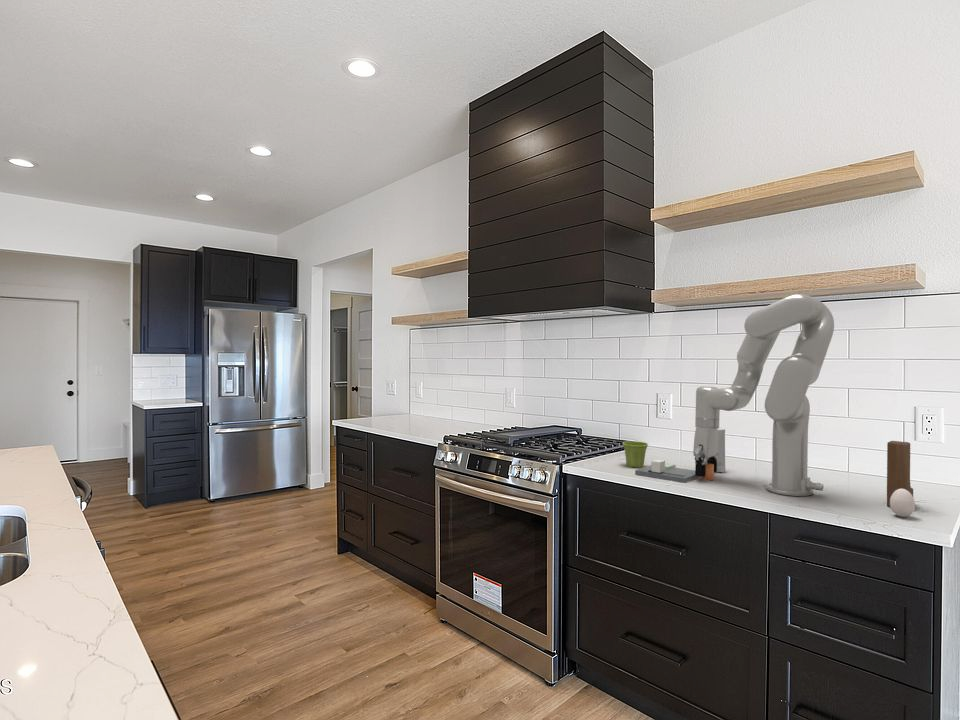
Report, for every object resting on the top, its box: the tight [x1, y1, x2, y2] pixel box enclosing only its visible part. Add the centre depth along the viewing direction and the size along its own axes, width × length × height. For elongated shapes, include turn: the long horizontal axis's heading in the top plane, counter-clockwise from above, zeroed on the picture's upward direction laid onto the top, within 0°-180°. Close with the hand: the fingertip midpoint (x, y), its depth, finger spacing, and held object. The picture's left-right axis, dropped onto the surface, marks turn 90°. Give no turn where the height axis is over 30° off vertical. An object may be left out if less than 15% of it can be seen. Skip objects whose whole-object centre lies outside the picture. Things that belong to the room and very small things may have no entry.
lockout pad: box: [665, 462, 676, 470], centre depth 202 cm, size 6×6×1 cm
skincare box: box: [701, 426, 726, 474], centre depth 202 cm, size 8×7×16 cm
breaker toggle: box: [650, 459, 666, 473], centre depth 194 cm, size 3×4×4 cm
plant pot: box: [622, 440, 649, 468], centre depth 211 cm, size 9×9×9 cm
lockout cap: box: [700, 463, 715, 481], centre depth 190 cm, size 4×4×5 cm
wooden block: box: [886, 440, 914, 508], centre depth 157 cm, size 9×4×18 cm, turn 133°
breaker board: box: [634, 465, 701, 484], centre depth 196 cm, size 18×14×2 cm
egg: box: [889, 489, 916, 518], centre depth 146 cm, size 5×5×7 cm
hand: (706, 473), depth 190 cm, fingers open, 9 cm apart
